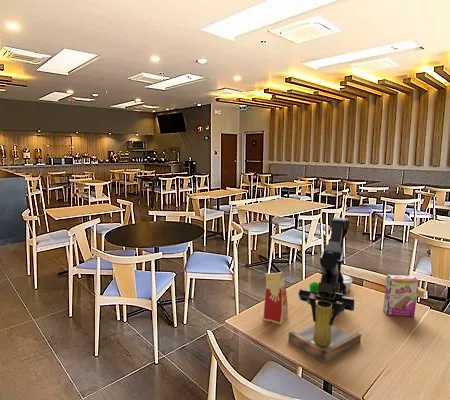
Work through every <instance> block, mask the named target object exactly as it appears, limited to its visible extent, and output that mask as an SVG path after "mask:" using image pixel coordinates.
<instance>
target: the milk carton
mask: <svg viewBox="0 0 450 400" xmlns="http://www.w3.org/2000/svg"><path fill="white" fill-rule="evenodd" d="M264 276H265V282H266V283H265V293H264V304H263V305H264V306H263V318H262V319H263V321H267V322H271V321H272V323H274V322H275V323H274V324H279V325H282V324H283V322H285V320H286V319H287V317H288V314H289V308H288V307H289V306H288V305H289V304H288V295H287V289H286V283H285V278H284V275H283V271H280V272H274V273H264ZM286 316H287V317H286Z"/></svg>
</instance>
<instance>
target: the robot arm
mask: <svg viewBox="0 0 450 400" xmlns="http://www.w3.org/2000/svg"><path fill="white" fill-rule="evenodd" d="M351 223H352V222H351V221H350V220H349V218H343V217H342V218H341V217H333V218H331V219H329V228H330V231H331V233H330V238H329V243H328V244H326V245H324V250H323V251H322V252H321V254H320V257H319V263H320V264H319V265H320V269H321V277H320V281H319V282H318V292H317V294H316V293H313V292H312V291H311V290H310V289H307V288H302V287H301V288H300V289H299V290H298V297H299V300H300V301H302V302H305V303H307V304H308V305H310V307H311V314H312V320H313V322H314V323H315V314H316V302H317V301H320V300H325V301H328V302H330V303H331V304H332V316H331V324H330V325H331V326H332V325H334V323H335V321H336V319H337V318H338V316H339V314H340V313H342V312H345V311H346V310H347V311H351V312H352V311H355V298H353V297H349V296H347V291H346V285H345V283H344V278H343V276H342V274H343V273H342V264H344V263H345V261H346V257H345V255H344V253H343V251H344V244H345V243H344V240H345V238H346V237H347V235H348V234H349V230H351V226H352V224H351Z"/></svg>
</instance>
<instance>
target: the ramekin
mask: <svg viewBox="0 0 450 400" xmlns="http://www.w3.org/2000/svg"><path fill="white" fill-rule="evenodd" d="M341 274H342V276H343V278H344V283H345V285H346V292H348V291H350V289H351V288H352V283H353V278H352V277H351V276H349V275H347V274H343V273H341Z"/></svg>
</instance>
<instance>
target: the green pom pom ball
mask: <svg viewBox="0 0 450 400" xmlns="http://www.w3.org/2000/svg"><path fill="white" fill-rule="evenodd" d="M318 284H319V282H317V281H314V282H311V283H310V284H309V290H311V293H313V294H316V293H318Z"/></svg>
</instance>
